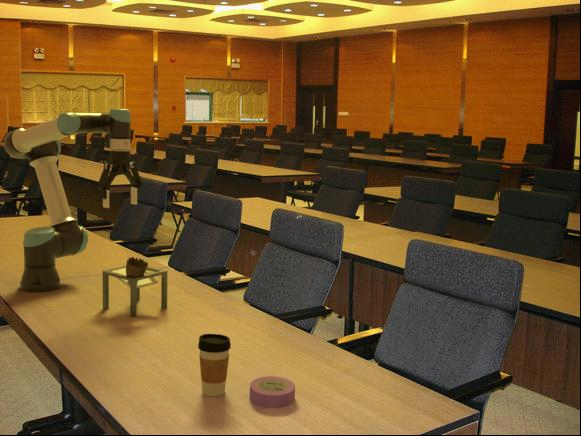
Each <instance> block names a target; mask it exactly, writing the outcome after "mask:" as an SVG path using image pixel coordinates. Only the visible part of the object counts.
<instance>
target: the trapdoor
mask: <svg viewBox="0 0 581 436" xmlns="http://www.w3.org/2000/svg"><path fill="white" fill-rule="evenodd" d="M111 272H115V273H119V274H123V275H126V268H123V269H118V270H114V271H111ZM146 274H149V273H148V272H147V271H145V274H144V275H146ZM115 278H116V279H117V280H119V281H120V282H122V283H123V284H124V285H126V286H127V287H128V288H129V289H130V282H129V281H128V280H125V279H121V278H117V277H115ZM158 283H159V281H158V280H157V279H156V278H155V277H151V278H146V279H142V280H138V282H137V288H140V289H141V288H145V287H149V286H152V285H157V284H158Z"/></svg>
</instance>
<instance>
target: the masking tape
mask: <svg viewBox="0 0 581 436" xmlns="http://www.w3.org/2000/svg"><path fill="white" fill-rule="evenodd" d="M295 396H296V385H295V383H294V382H293V381H292V380H290V379H288V378H286V377H282V376H275V375H274V376H273V375H272V376H271V375H270V376H268V375H267V376H261V377H257V378H255V379H253V380H252V381H251V382H250V383H249V401H250V402H251V403H252V404H253V405H256V406H258V407H262V408H267V409H280V408H284V407H285V408H286V407H288V406H290V405H292V404H293V403H294V402H295V398H296V397H295Z"/></svg>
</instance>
